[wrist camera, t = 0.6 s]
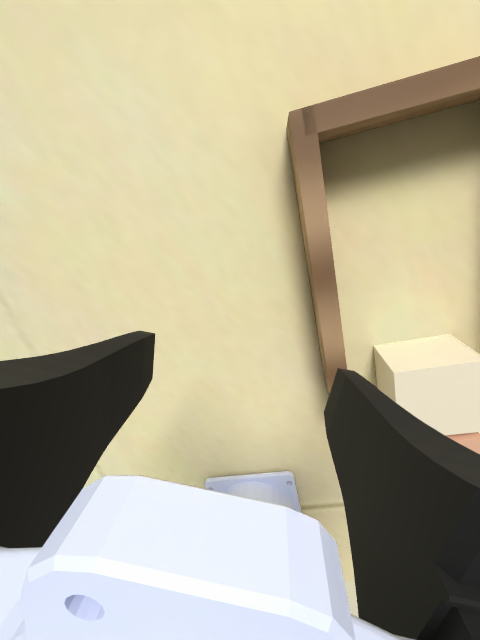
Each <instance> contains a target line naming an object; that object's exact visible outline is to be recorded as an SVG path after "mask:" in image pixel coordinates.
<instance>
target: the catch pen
mask: <svg viewBox="0 0 480 640" xmlns="http://www.w3.org/2000/svg"><path fill="white" fill-rule="evenodd" d="M477 100H480V56H479V57H476V58H472V59H469V60H465V61H462V62H459V63H455V64H452V65H448V66H445V67H441V68H438V69H435V70H431V71H428V72H424V73H421V74H418V75H414V76H411V77H407V78H404V79H400V80H397V81H394V82H390V83H387V84H383V85H380V86H376V87H373V88H370V89H366V90H363V91H359V92H356V93H352V94H349V95H346V96H342V97H339V98H335V99H332V100H329V101H325V102H322V103H318V104H315V105H311V106H308V107H305V108H301V109H298V110H294V111H291V112H289V116H288V122H287V135H288V142H289V148H290V155H291V161H292V168H293V174H294V181H295V188H296V194H297V201H298V207H299V214H300V220H301V227H302V234H303V240H304V247H305V253H306V260H307V267H308V273H309V280H310V286H311V293H312V299H313V306H314V313H315V319H316V326H317V332H318V339H319V346H320V352H321V359H322V365H323V372H324V378H325V384H326V387H327V390H328V394H330V391H331V388H332V385H333V382H334V378H335V375H336V372H337V369H338V368H340V369H345V370H347V366H346V358H345V350H344V342H343V334H342V326H341V317H340V309H339V301H338V293H337V285H336V277H335V269H334V261H333V253H332V244H331V236H330V228H329V220H328V212H327V204H326V196H325V188H324V180H323V171H322V163H321V155H320V147H319V143H321V142H325V141H329V140H332V139H336V138H340V137H343V136H347V135H351V134H355V133H358V132H362V131H366V130H369V129H373V128H377V127H380V126H384V125H388V124H392V123H395V122H399V121H403V120H406V119H410V118H414V117H418V116H421V115H425V114H429V113H432V112H436V111H440V110H443V109H447V108H451V107H455V106H458V105H462V104H466V103H469V102H473V101H477Z"/></svg>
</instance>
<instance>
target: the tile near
mask: <svg viewBox="0 0 480 640" xmlns="http://www.w3.org/2000/svg"><path fill="white" fill-rule="evenodd" d="M373 347H374V358H375V369H376V380H377V388H378V389H379V390H380V391H381V392H383V393H384V394H385V395H387V396H388V397H389V398H390V399H392V400H393V401H394V402H396V403H397V404H398V405H400V406H401V407H402V408H404V409H405V410H407V411H408V412H409V413H411V414H412V415H414V416H415V417H417V418H418V419H419V420H421V421H423V422H424V423H426V424H427V425H429V426H430V427H432V428H434V429H435V430H437V431H439V432H440V433H442V434H443V435H455V434H465V433H475V432H480V354H478V353H477V352H475V351H474V350H472V349H471V348H469V347H468V346H467V345H465V344H464V343H462V342H461V341H459V340H458V339H456V338H455V337H454V336H452V335H451V334H445V335H438V336H432V337H425V338H419V339H412V340H406V341H399V342H393V343H386V344H380V345H373Z"/></svg>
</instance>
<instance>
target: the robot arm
mask: <svg viewBox="0 0 480 640" xmlns="http://www.w3.org/2000/svg"><path fill="white" fill-rule="evenodd" d="M154 345H155V334H154V333H149V332H144V331H136V332H132V333H128V334H125V335H121V336H118V337H115V338H112V339H108V340H105V341H102V342H99V343H95V344H91V345H88V346H84V347H80V348H77V349H73V350H69V351H64V352H60V353H55V354H49V355H44V356H38V357H31V358H22V359H14V360H6V361H0V640H480V454H478V453H476V452H474V451H472V450H471V449H469V448H467V447H465V446H463V445H461V444H459V443H457V442H456V441H454V440H452V439H450V438H448V437H447V436H445V435H443V434H442V433H440V432H439V431H437V430H435V429H434V428H432V427H430V426H429V425H427V424H426V423H424V422H423V421H421V420H419V419H418V418H417V417H415V416H414V415H412V414H411V413H409V412H408V411H407V410H405V409H404V408H402V407H401V406H400V405H398V404H397V403H396V402H394V401H393V400H392V399H390V398H389V397H388V396H387V395H385V394H384V393H383V392H381V391H380V390H379V389H378V388H376V387H375V386H374V385H373V384H371V383H370V382H369V381H367V380H366V379H365V378H364V377H362V376H361V375H359V374H358V373H356V372H354V371H351V370H345V369H340V368H338V369H337V372H336V375H335V378H334V382H333V385H332V388H331V391H330V394H329V398H328V401H327V404H326V407H325V411H324V416H325V426H326V434H327V439H328V443H329V446H330V450H331V454H332V458H333V462H334V465H335V469H336V473H337V476H338V480H339V484H340V488H341V492H342V496H343V501H344V506H345V512H346V518H347V525H348V531H349V538H350V545H351V553H352V560H353V568H354V577H355V586H356V595H357V603H358V613H359V618H358V617H356V616H354V615H352V614H351V613H350V609H349V604H348V599H347V593H346V588H345V583H344V578H343V573H342V567H341V562H340V557H339V552H338V547H337V543H336V541H335V540H334V539H333V538H332V537H331V535H330V534H329V533H328V532H327V531H326V529H325V528H324V527H323V526H322V525H321V523H320V522H319V521H318V520H316V519H314V518H313V517H310V516H308V515H305V514H303V513H302V512H301V507H300V502H299V498H298V493H297V488H296V484H295V479H294V475H293V473H292V472H290V471H282V472H271V473H260V474H248V475H237V476H226V477H214V478H207V479H206V481H205V487H206V489H203V488H199V487H194V486H189V485H184V484H179V483H175V482H170V481H165V480H160V479H156V478H151V477H146V476H141V475H110V476H104V477H103V478H101V479H99V480H97V481H95V482H94V483H92V484H90V485H88V486H87V487H85V488H83V487H84V485H85V483H86V481H87V479H88V478H89V476H90V474H91V472H92V471H93V469H94V467H95V466H96V464H97V462H98V460H99V459H100V457H101V455H102V454H103V452H104V451H105V449H106V448H107V446H108V445H109V443H110V442H111V440H112V439H113V438H114V436H115V435H116V434H117V432H118V431H119V429H120V428H121V427H122V425H123V424H124V423H125V421H126V420H127V419H128V417H129V416H130V414H131V413H132V412H133V410H134V409H135V408H136V406H137V405H138V403H139V402H140V401H141V399H142V397H143V396H144V394H145V392H146V390H147V388H148V386H149V384H150V382H151V380H152V377H153V361H154ZM288 481H290V482H288ZM211 487H212V488H211Z"/></svg>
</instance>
